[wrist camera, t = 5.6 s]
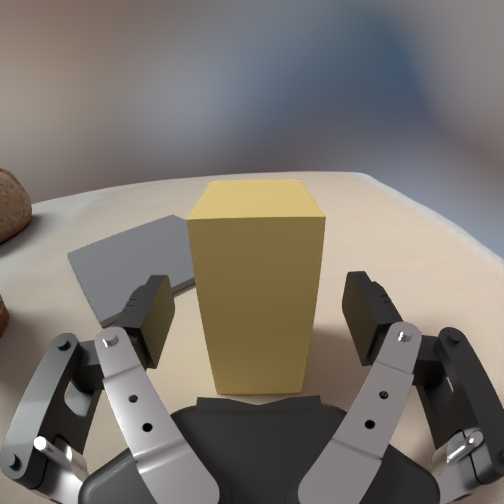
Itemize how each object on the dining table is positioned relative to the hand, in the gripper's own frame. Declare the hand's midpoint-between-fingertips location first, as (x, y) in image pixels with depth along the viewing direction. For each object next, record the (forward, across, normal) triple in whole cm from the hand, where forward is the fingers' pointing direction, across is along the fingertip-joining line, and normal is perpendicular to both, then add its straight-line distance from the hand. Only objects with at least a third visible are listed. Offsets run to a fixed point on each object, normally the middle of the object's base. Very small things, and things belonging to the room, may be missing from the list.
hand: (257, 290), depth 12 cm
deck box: (+1, 0, +6) cm, 6 cm away
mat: (+14, +12, +6) cm, 20 cm away
